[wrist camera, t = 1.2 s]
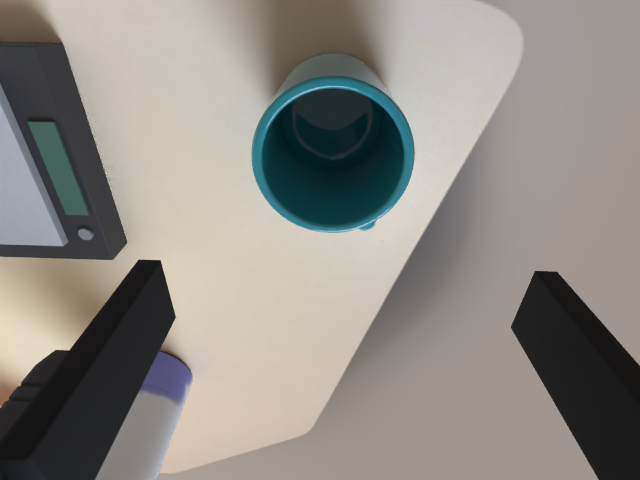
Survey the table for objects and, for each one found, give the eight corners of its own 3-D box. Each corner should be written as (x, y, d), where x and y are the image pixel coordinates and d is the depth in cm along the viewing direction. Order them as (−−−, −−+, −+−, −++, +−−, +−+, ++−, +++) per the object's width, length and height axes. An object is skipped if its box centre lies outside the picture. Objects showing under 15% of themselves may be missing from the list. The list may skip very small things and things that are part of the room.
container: (119, 388, 50) (13, 579, 34) (114, 341, 45) (-15, 540, 28) (191, 400, 51) (123, 591, 35) (194, 355, 46) (116, 555, 29)
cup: (317, 208, 34) (313, 285, 25) (256, 82, 28) (219, 121, 19) (410, 173, 32) (444, 242, 22) (365, 29, 26) (385, 42, 17)
